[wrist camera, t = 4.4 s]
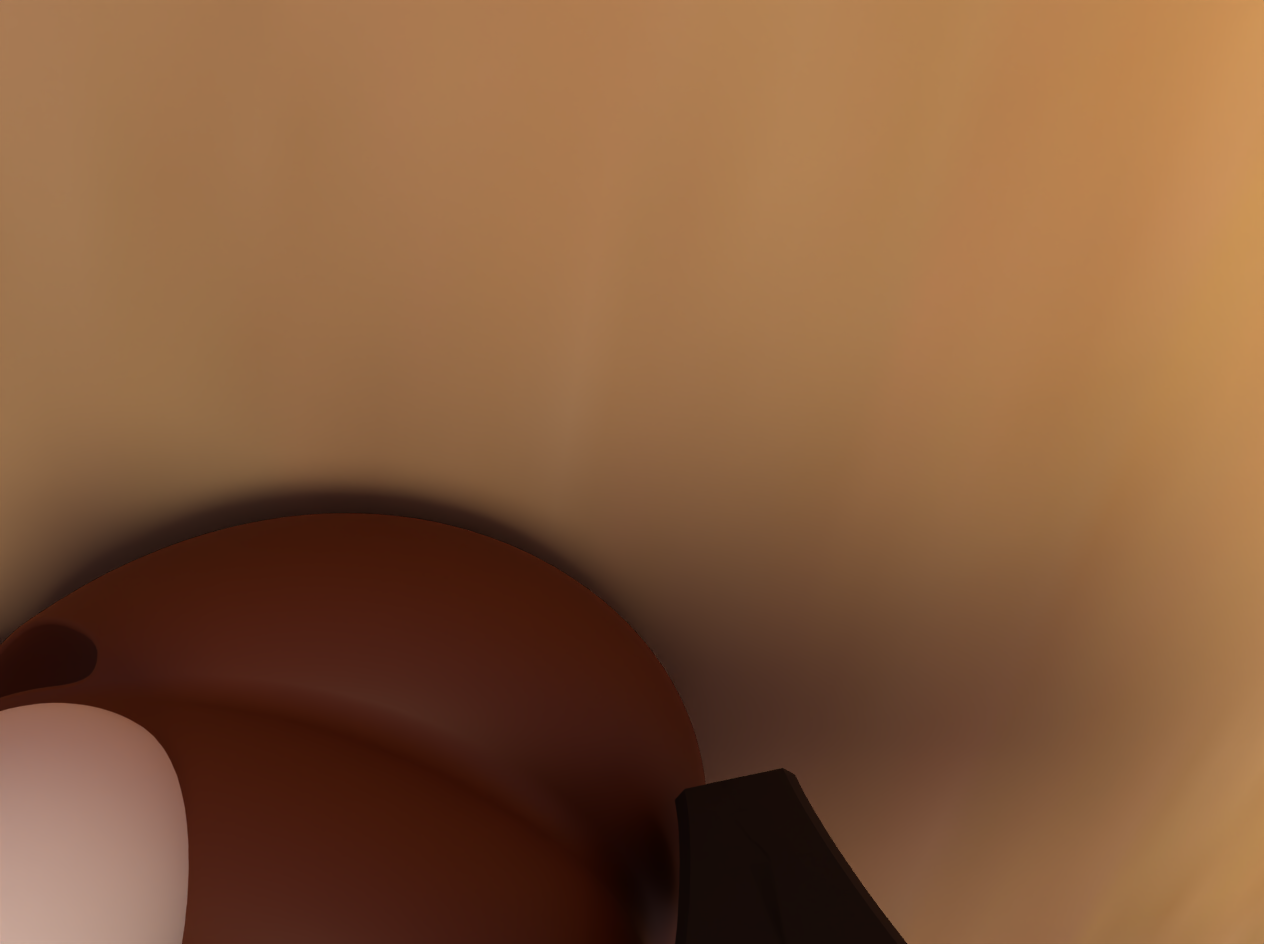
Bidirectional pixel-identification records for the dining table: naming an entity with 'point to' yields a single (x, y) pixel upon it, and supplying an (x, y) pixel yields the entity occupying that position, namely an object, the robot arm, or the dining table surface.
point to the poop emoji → (338, 749)
